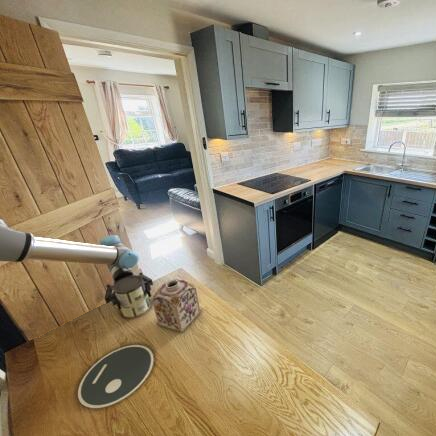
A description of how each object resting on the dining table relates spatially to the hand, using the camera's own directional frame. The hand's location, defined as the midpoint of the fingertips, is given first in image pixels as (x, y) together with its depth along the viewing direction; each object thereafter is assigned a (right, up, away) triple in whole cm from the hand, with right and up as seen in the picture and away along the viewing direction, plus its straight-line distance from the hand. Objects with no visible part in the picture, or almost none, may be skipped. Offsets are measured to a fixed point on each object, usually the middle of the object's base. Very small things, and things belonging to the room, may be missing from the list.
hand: (135, 300), depth 95 cm
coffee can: (-3, -6, +6) cm, 9 cm away
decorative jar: (+17, -8, +2) cm, 19 cm away
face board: (+7, -17, -19) cm, 26 cm away
